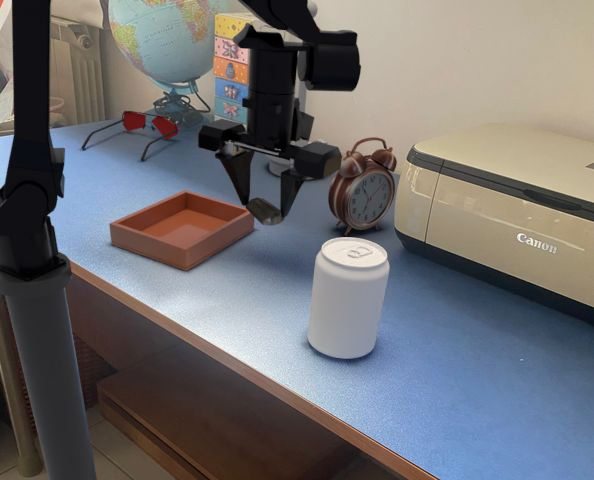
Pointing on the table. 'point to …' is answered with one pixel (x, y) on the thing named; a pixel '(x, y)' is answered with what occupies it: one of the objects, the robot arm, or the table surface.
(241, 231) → the desk tray
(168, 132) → the glasses
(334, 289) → the beverage can
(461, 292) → the table surface
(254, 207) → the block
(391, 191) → the alarm clock
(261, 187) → the table surface
